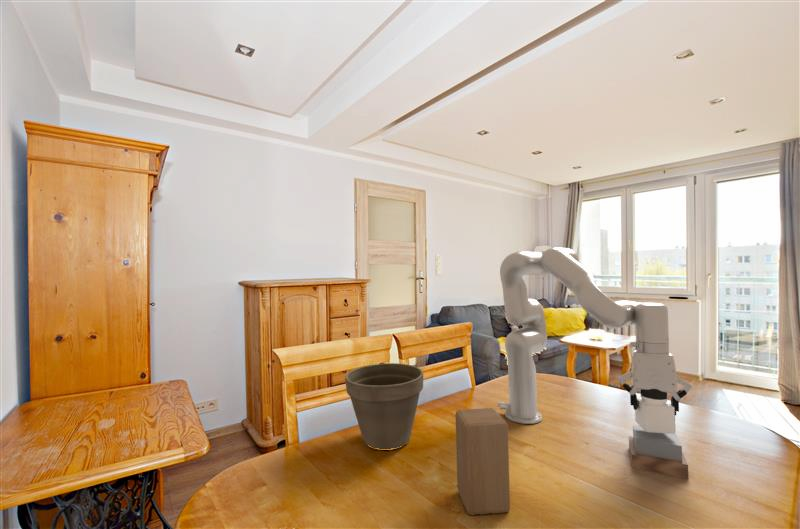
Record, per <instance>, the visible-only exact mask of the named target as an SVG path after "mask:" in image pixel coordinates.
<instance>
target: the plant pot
mask: <svg viewBox="0 0 800 529" xmlns="http://www.w3.org/2000/svg"><path fill="white" fill-rule="evenodd" d="M344 381H345V390H346V394H347V395H348V396H349V397H350V401H351V405H352V408H353V411H354V414H355V417H356V418H355V419H356V420H357V424H358V427H359V431H360V434H361V437H362V440H363V442H364V444H365V443H366V444H367V445H369V446H371V447H373V448H379V449H391V448H397V447H400V446H403V445H405V444H406V443H407V444H409V442H410V439H411V435H412V432H413V427H414V422H415V417H416V413H417V408H418V404H419V399H420V394H421V392H422V391H423V389H424V371H423V369H421V368H420V367H417V366H415V365H411V364H405V363H399V362H398V363H395V362H390V363H389V362H387V363H384V362H383V363H376V364H369V365H365V366H360V367H357V368H354V369H351V370H350V371H348V372H347V373H346V375H345V377H344ZM366 444H365V445H366ZM407 444H406V445H407ZM367 445H366V446H367ZM406 445H405V446H406ZM403 447H404V446H403Z"/></svg>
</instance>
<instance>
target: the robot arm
mask: <svg viewBox="0 0 800 529" xmlns="http://www.w3.org/2000/svg"><path fill="white" fill-rule="evenodd" d="M579 261H580V260H579V256H578V254H577V253H576V251H574V250H573V249H571V248H568V247H551V248H547V249H546V250H542V251H525V250H523V251H516V252H511V253H510V254H508V255H507V256H506V257H505V258H504V259H503V261H502V262H501V263H500V264H501V265H500V268H499V276H500V281H501V287H502V293H503V294H502V296H503V303H504V314H505V318H506V320H507V323H509V324H510V325H511V326H514V327H517V326H518V327H519V326H522V328H519V329H515V330H512V331H511V332H509V333H508V334H507V336H506V337H505V340H504V348H505V352H506V357H507V369H508V370H507V371H508V372H507V373H508V399H509V400H508V401H507V402H503V401H497V407H498V408H499V409H500V410H505V413H504V415H505V416H504V417H506V419H508V420H509V421H512V422H514V423H518V424H523V425H525V424H527V425H532V424H537V423H540V422H541V421H542V420H543V415H542V414H541V413H540V412H539V411H538V403H537V402H538V397H537V392H538V391H537V369H536V363H535V361H534V358H533V354H537V353H539V352H542V351H544V350H545V348H546V347H547V345H548V332H547V324H546V317H545V311H544V308H543V306H542V304H541V303H540V302H539V301H538V300H536V299H534V298H531V297H530V298H529V296H528V289H527V285H526V282H525V280H524V279H523V277H524V276H528V275H529V276H531V275H544V274H545V275H546V274H547V275H548V274H549V275H552V276H553V277H554V278H555V279H557V281H558V282H560V283H561V284H562V285H564V286H565V287H566V288H567V289H568V290H569V291H570V292H572V294H573V296H574V298H575V299H576V301H577V303H578V304H579V305H580V307H581V308H582V309H583V310H584V311H585V312H586V313H587V314H588V315H590V317H592V318H593V319H594V320H596V321H597V322H598V323H600V324H601V325H603V326H604V327H605V328H609V329H613V330H616V329H621V328H625V327H629V326H635V341H630V343H629V345H630V346H629V347H630V348H634V349H635V350H633V351H632V360H631V369H630V370H631V371H628V372H626V373H624V374H621V375H619V376H618V377H617V380H618V381H619V383H620V385H621V386H622V387H623V388H624V390H626V392H627V393H628V394H629V395H630V396H629V397H630V398H629V400H630V406H632V407H633V410H634V411H635V410H636V409H637V397H638V396H637V392H638V391H639V390H641V389H642V390H649V389H658V390H660V391H662V392H667V393H670V395H671V397H670V405H672V406H673V407H674V408H675V416H677V412H680V405H679V402H680V400H681V399H682V398H684V397H685V396H686V395H687V394H688V393H689V392H690V390H691V389H692V388H693V387H692V385H691V384H690V383H689V382H687V381H686V380H684V379H683V378H681V377H679V376H678V375H677V369H676V363H675V358H674V355H673V353H671V352H670V338H669V336H670V335H669V309H668V307H667V305H666V304H664V303H660V302H638V301H637V302H636V301H632V300H625V299H624V300H617V301H614V300H613V299H611V298H610V297H609V296H607V295H606V294H605V293H604V292H603V291H602V290H600V289H599V288H598V286H597V285H596V283H595V281H594V277H595V276H594V272H592V271H591V270H590V269H588V268H587V267H586V266H584V265H583V264H582V263H580V262H579ZM630 378H631V383H632V384H631V386H630V385H629V384H628V383H627V382H626V380H628V379H630ZM678 384H680V385H681V386H682V387H681V389H679V390H678ZM677 390H678V391H677Z"/></svg>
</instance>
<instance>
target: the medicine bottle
mask: <svg viewBox="0 0 800 529" xmlns="http://www.w3.org/2000/svg"><path fill="white" fill-rule="evenodd" d="M634 421H635V422H636V423H637V425H639V426H641V427H642V428H643V429H644V430H645V431H646V432H652V433H669V434H675V432H676V415H675V408H674V407H673V406H672V405H671V403H669V402H668V392H662V391H660V390H658V389H649V390H642V389H640V397H639V396H637V409H636V410H634Z"/></svg>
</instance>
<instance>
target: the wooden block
mask: <svg viewBox="0 0 800 529" xmlns="http://www.w3.org/2000/svg"><path fill="white" fill-rule="evenodd" d="M455 441H456V442H455V444H456V445H455V447H456V475H457V476H456V479H457V480H456V481H457V482H456V483H457V486H456V487H457V491H458V493H459V496H460V498H461V501H462V503H463V506H464V509H465V511H466V513H467V515H469V514H471V515H470V516H473V515H472V514H480V515H489V513H492V514H501V513H502V514H503V513H508V512H510V510H511V492H510V491H511V490H510V489H511V488H510V486H511V485H510V461H509V458H510V457H509V456H510V455H509V453H510V452H509V426H508V423H507V421H506V420H505V419H504V418H503V417H502V415H500V413H499V412H498V411H497V410H496V409H495V408H493V407H492V408H491V407H489V408H474V409H473V408H470V409H458V410H456V412H455Z"/></svg>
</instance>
